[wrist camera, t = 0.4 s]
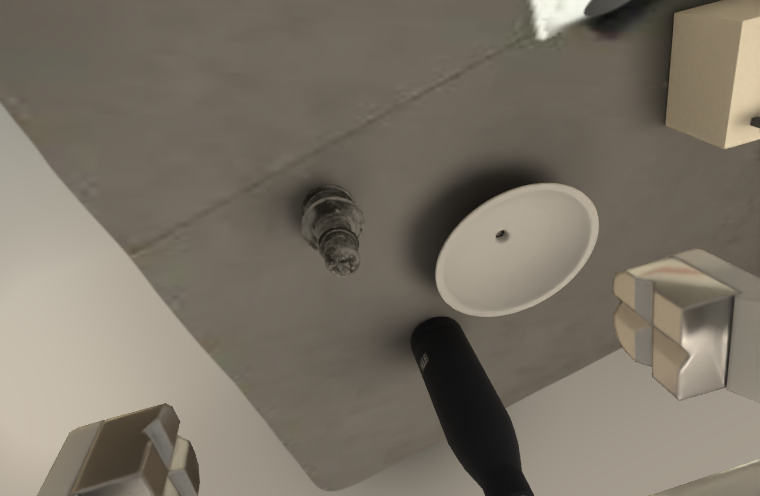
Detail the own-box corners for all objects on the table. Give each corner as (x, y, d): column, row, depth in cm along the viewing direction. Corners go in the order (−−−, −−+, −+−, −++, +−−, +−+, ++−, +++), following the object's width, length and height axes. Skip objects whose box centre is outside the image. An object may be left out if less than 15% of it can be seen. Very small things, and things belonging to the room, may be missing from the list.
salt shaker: (334, 246, 53) (352, 315, 43) (287, 217, 50) (293, 282, 40) (370, 203, 51) (397, 263, 41) (322, 170, 49) (338, 226, 38)
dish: (448, 313, 60) (462, 340, 56) (400, 216, 53) (413, 238, 49) (585, 246, 59) (610, 268, 55) (557, 137, 52) (583, 153, 48)
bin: (674, 12, 48) (774, 24, 39) (752, -8, 49) (870, -1, 39) (665, 125, 54) (751, 160, 44) (735, 105, 54) (834, 135, 45)
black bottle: (466, 348, 63) (606, 612, 38) (417, 366, 63) (524, 644, 37) (456, 309, 60) (602, 568, 34) (404, 327, 60) (512, 602, 34)
